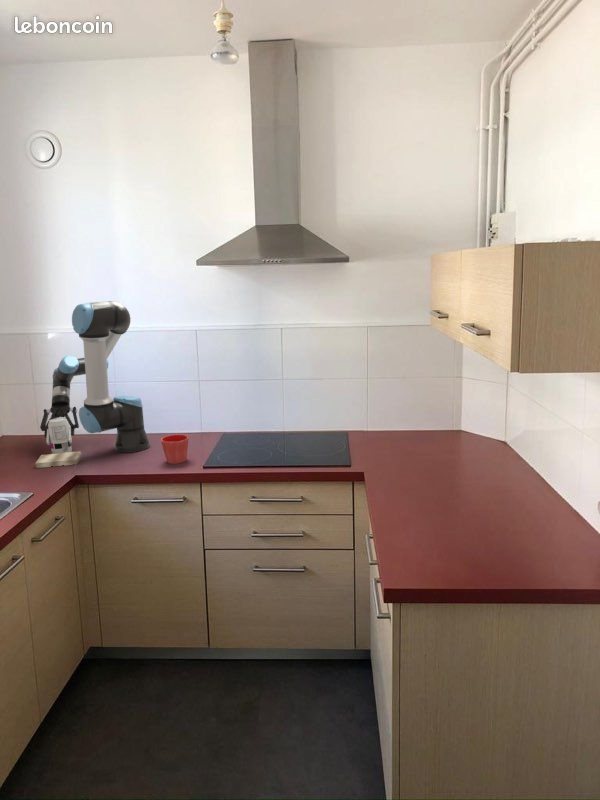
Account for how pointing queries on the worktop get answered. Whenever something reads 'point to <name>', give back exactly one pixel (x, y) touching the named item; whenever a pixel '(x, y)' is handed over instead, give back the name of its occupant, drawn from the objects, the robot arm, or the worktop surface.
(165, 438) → the flower pot
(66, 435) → the supplement can
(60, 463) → the birch board
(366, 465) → the worktop surface
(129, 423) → the robot arm
